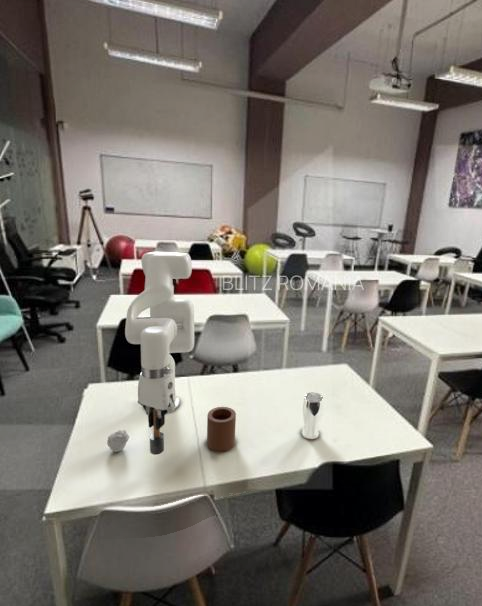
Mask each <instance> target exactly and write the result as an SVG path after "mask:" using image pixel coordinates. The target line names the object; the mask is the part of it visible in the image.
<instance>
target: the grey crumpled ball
mask: <svg viewBox="0 0 482 606" xmlns="http://www.w3.org/2000/svg"><path fill="white" fill-rule="evenodd" d="M129 439H130V434H129V433H127V430H125V429H123V430H120V429H119V430H118V431H114V432H112V433H110V435H108V437H107V440H106V443H107V447H109V449H110V450H111V451H112V452H114V453H115V452H116V453H117V452H121V451H123V449H125V447H126V446H127V443H128V441H129Z"/></svg>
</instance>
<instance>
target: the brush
mask: <svg viewBox="0 0 482 606" xmlns="http://www.w3.org/2000/svg"><path fill="white" fill-rule="evenodd" d="M156 417H157V408H154V409H153V426H152V428H153V432H152V433H151V434H150V435H149V453H150V454H151V455H160V454H163V452H164V451H165V435H164V432H162V431H161V428H160V429H159V430H157V429H156Z"/></svg>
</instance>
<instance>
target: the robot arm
mask: <svg viewBox="0 0 482 606" xmlns="http://www.w3.org/2000/svg"><path fill="white" fill-rule="evenodd" d="M140 261H141V267H142V268H141V269H142V271H143V274H144V276H145V279H144V280H145V281H144V290H143V291H142V292H140V293H139V294H138V295H137V296H136V297H135V298H134V299H133V300H132V301H131V302H130V304H129V306H128V308H127V311H126V318H125V328H124V335H125V339H126V341H127V342H128V343H129V344H132V345H140V365H141V367H140V368H141V372H140V374H139V377H138V384H137V403H138V405H140V406H141V407H142V408H143V409H144V410H145V414H146V415H147V416H148V417H147V418H148V420H147V421H148V428H153V409H154V408H157V417H156V429H157V430H159V429H160V430H161V428H163V426H164V425H165V423H166V414H173V413H174V412H176V408H178V407H179V405H180V398H179V397H178V396H177V394H176V362H175V359H174V358H173V356H172V355H171V354H177V353H179V354H180V353H189V352H192V351H193V349H194V347H195V307H194V304H193V302H192V301H191V300H190V299H187V298H175V294H174V293H175V292H174V291H175V287H174V283H173V281H174V280H173V279H175V280H176V279H178V280H179V279H180V280H181V279H183V280H186V279H187V280H188V279H189V278H190V277H191V275H192V272H193V271H192V270H193V264H192V263H193V262H192V258H191V256H190V254H189V253H188V252H171V251H150V252H146V253H143V255H142V256H141V260H140ZM148 309H149V316H150V317H147V318H146V317H139V315H140V314H142V313H143V312H144V311H145V310H148ZM138 317H139V318H138ZM178 325H181V326H182V327H178Z"/></svg>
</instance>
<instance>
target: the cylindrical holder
mask: <svg viewBox="0 0 482 606" xmlns="http://www.w3.org/2000/svg"><path fill="white" fill-rule="evenodd" d="M206 418H207V420H206V421H207V423H206V446H207V448H208V449H209V450H211V451H213V452H216V453H217V452H218V453H222V452H223V453H224V452H227V451H230V450H231V449H232V448H233V447H234V446H235V441H236V421H237V413H236V411H235V410H234V409H233V408H231V407H228V406H217V407H214V408H212V409H210V410H209V411H208V413H207V417H206Z"/></svg>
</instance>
